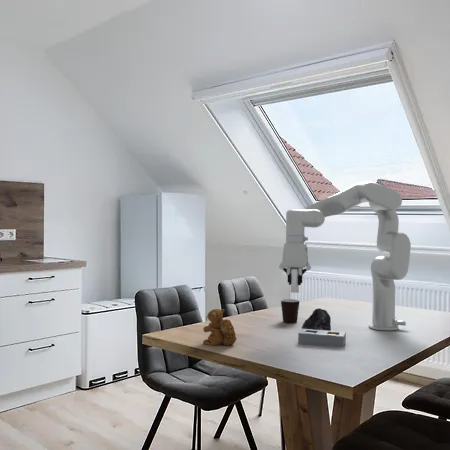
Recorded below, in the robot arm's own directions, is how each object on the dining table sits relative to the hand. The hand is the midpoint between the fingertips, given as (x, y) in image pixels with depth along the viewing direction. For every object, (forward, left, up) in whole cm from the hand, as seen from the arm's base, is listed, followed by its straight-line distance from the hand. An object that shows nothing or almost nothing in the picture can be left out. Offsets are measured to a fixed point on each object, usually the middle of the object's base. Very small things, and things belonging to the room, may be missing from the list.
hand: (294, 284), depth 225 cm
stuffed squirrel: (+23, +25, -21) cm, 40 cm away
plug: (0, 0, -3) cm, 3 cm away
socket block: (-13, +10, -21) cm, 26 cm away
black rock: (-7, -12, -21) cm, 26 cm away
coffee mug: (+7, -28, -21) cm, 36 cm away
